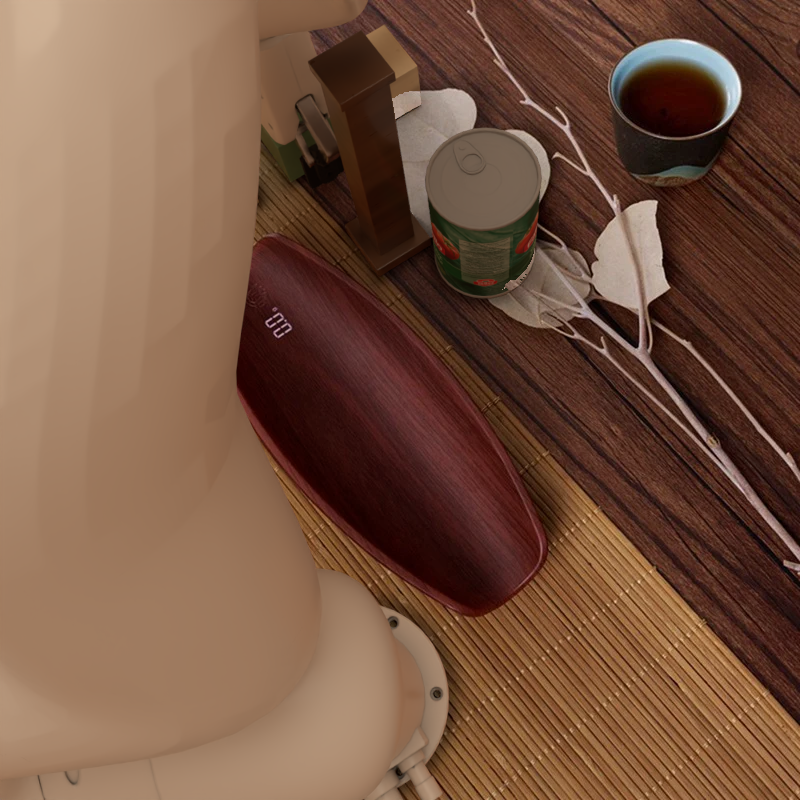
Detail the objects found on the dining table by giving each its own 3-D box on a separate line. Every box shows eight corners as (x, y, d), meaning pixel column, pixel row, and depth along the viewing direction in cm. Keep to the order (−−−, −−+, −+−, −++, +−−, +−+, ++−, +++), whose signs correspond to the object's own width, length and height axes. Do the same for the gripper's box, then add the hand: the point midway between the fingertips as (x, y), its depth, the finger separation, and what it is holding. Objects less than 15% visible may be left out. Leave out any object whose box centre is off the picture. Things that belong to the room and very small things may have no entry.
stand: (431, 245, 73) (409, 73, 54) (379, 277, 73) (336, 117, 53) (398, 199, 75) (364, 17, 55) (346, 231, 74) (293, 59, 55)
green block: (342, 152, 77) (332, 115, 72) (291, 182, 76) (277, 148, 72) (311, 110, 78) (300, 72, 74) (261, 140, 78) (246, 104, 73)
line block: (422, 104, 78) (417, 65, 73) (372, 135, 77) (364, 97, 72) (390, 65, 79) (384, 24, 74) (341, 94, 79) (331, 55, 74)
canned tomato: (554, 269, 72) (564, 194, 61) (465, 316, 71) (461, 249, 61) (502, 192, 74) (504, 108, 64) (416, 237, 74) (404, 160, 63)
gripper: (134, -75, 62) (208, 87, 78) (259, 101, 56) (311, 236, 73) (230, -129, 63) (284, 43, 79) (362, 40, 57) (391, 187, 73)
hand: (297, 135), depth 76 cm, fingers open, 9 cm apart
